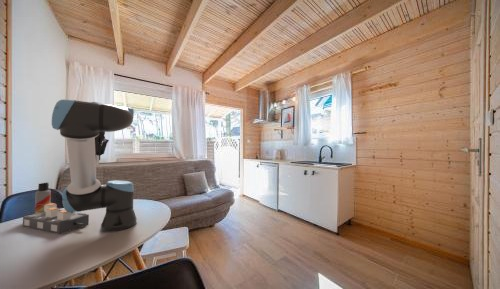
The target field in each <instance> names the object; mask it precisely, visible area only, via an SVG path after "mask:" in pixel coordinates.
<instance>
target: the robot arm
mask: <svg viewBox="0 0 500 289" xmlns="http://www.w3.org/2000/svg"><path fill="white" fill-rule="evenodd" d="M134 112H135V110H134V108H133V107H129V106H120V105H119V106H118V105H112V104H106V103H102V102H96V101H91V102H90V101H83V100H76V99H60V100H58V101H56V103H55V105H54V108H53V111H52V115H51V126H52V128H53V130H57V131H59V134H60V136H62V137H63V138H65V139H66V148H67V156H68V165H69V166H68V167H69V174H70V183H69V184H68V185H67V187H65V188H64V189H63V192H62V194H61V196H62V197H61V198H62V200H61V202H62V206H63V208H64V210H66V211H68V212H76V213H81V212H85V211H91V210H92V211H93V210H99V209H105V214H104V216H103V219H102V222H101V224H100V230H101V232H108V233H112V232H118V231H123V230H127V229H130V228H131V227H133V226H134V225H136V224H137V215H136V213H135V210H134V193H135V190H134V189H135V188H134V187H135V186H134V183H133V182H132V181H128V180H108V181H107V182H106V184H101V183H102V182H101V181H100V180H99V179H97V167H99V166H100V161H101V156H102V155H104V154H105V151H106V149H107V145H108V142H110V140H109V139H106V137H105V134H106V133H112V132H117V131H118V132H119V131H122V130H125V129H126V128H129V127H130V126H131V125H132V124H133V122H134V114H135V113H134Z"/></svg>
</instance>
